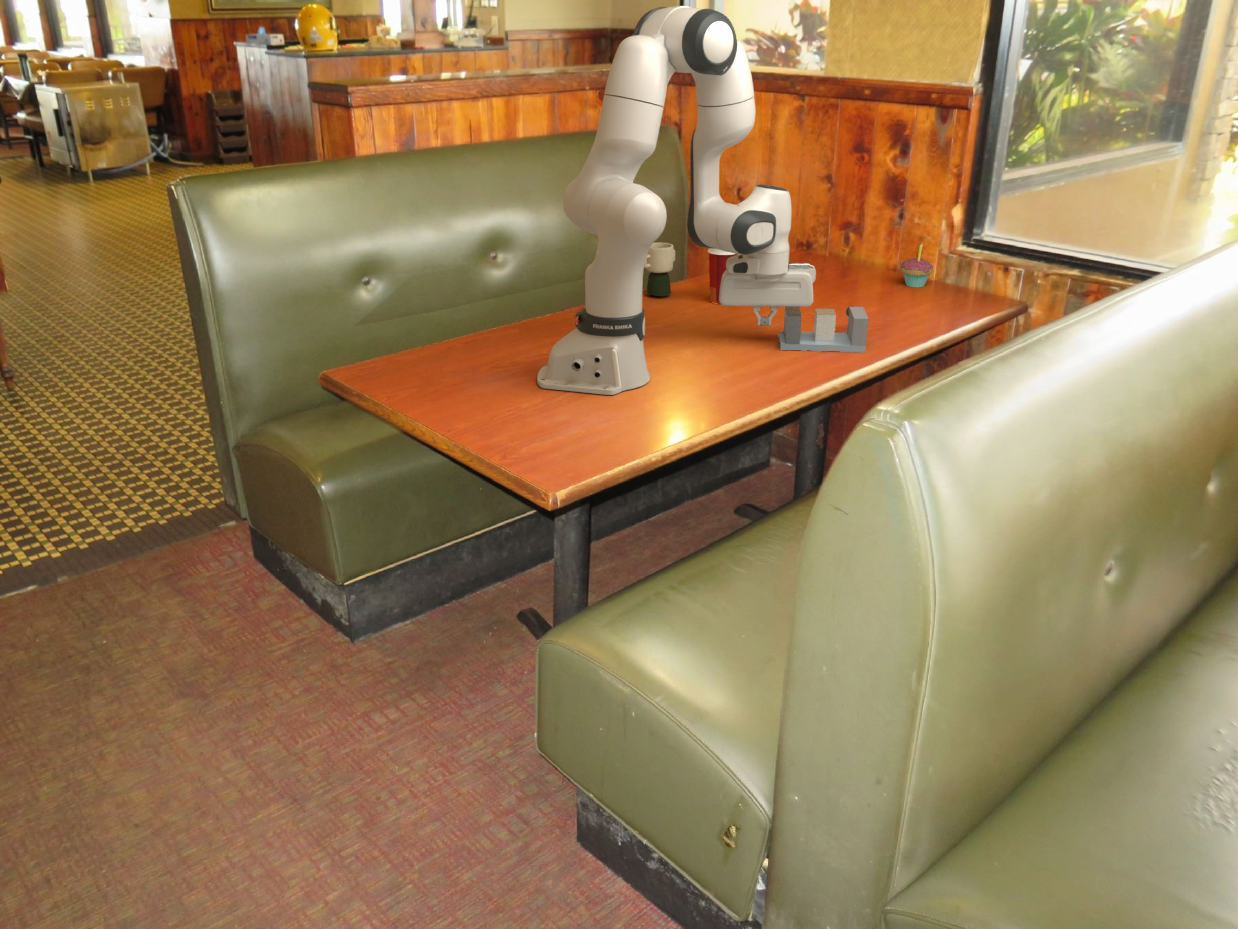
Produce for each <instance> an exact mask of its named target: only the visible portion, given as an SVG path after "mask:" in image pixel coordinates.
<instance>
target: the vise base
mask: <svg viewBox="0 0 1238 929" xmlns="http://www.w3.org/2000/svg"><path fill="white" fill-rule="evenodd" d="M845 315H846V316H847V317H848V318H847V329H846V332H835V335H834V342H815V340H814V336H813V333H814V331H801V333H800V344H786V343H785V337H784V330H781V331H778V343H780V344H779V350H780V351H782V350H801V351H800V352H808V351H807V350H811V351H810V352H821V351H840V352H839V353H859V354H861V353H864V354H865V353H866V346H867V336H868V326H869V316H868V314H867V312H866V309H865V308H864V307H863V306H854V305H850V306H848V307H847V308H846V310H845Z"/></svg>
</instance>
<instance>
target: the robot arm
mask: <svg viewBox="0 0 1238 929" xmlns="http://www.w3.org/2000/svg"><path fill="white" fill-rule="evenodd" d="M675 73H679V74H680V73H681V74H691V76H692V78H693V80H694V83H695V98H696V108H697V109H696V110H697V120H696V127H695V128H694V130H693V132H692V134H691V138H690V152H689V153H690V154H689V155H690V156H689V157H690V158H689V160H690V161H689V162H690V163H689V164H690V166H689V167H690V170H689V174H690V180H689V183H690V201H689V209H688V213H687V220H686V221H687V222H686V226H687V227H686V228H687V232H688V235H689V237H690V239H691V241H692V242H693V243H694V244H695V245H697V247H700V248H706V249H707V248H708V249H709V248H713V249H714V248H715V249H719V250H722V251H726V252H731V253H735V254H737V255H736V256H732V257H730V258H728V259H727V262H726V269H727V270H726V271H725V272H724V273H723V276H722V279H721V284H720V291H719V302H720V303H721V304H722V305H721V306H723V307H752V309H753V312H754V315H755V316H756V317H757V322H756V323H757V326H758V327H760V326H761V327H762V326H764V327H771V326H772V320H773V318H774V316H775V315H776V313H777V312H778V307H785V306H789V307H799V308H802V307H804V308H805V307H810V306H811V305H813V303H814V285H813V284H814V282H815V281H816V278H817V268H815V266H814V265H812V264H810V262H809V263H808V262H803V263H801V262H789V261H790V248H791V247H790V242H789V236H790V232H791V229H792V214H793V213H792V199H791V198H792V197H791V194H790V191H789V190H788V189H786V188H784V187H779V186H777V185H776V186H775V185H769V184H757V185H755V186H753V189H752V192H751V193H750V194H749V196H747V197H746V198H745V199H744V200H742V201H741V202H739V203H737V204H735V203H734V204H733V203H729V202H725V200H724V199H723V198H722V196H721V195H720V194H721V193H720V160H721V157H722V154H723V152H725V150H727V149H729V148H731V147H733V146H736V145H738V144H740V143H741V142H742V141H744V140H745V139H746V138H747V137H748V136H749V134H750V133H751V132H752V130H753V128H754V126H755V121H756V113H757V112H756V110H757V109H756V101H755V100H756V99H755V91H754V89H755V88H754V82H753V76H752V70H751V66H750V61H749V57H748V53H747V51H746V48H745V46H744V44H743V43H742V42H741V41H740V40H738V39H737V34H736V30H735V27H734V25H733V23H732V22H731V20H730V19H729V17H728V16H726V15H725V14H724V13H722V12H720V11H718V10H715V9H711V8H699V7H698V8H697V7H691V6H687V5H677V6H676V5H675V6H670V7H667V6H660V7H656V8H653V9H651V10H649V11H647V12H646V13H644V14H643V15H642V16H641V17H640V19H639V20H638V22H637V23H636V25H635V28H634V31H633V33H632V35H631V36H628V37H626V38H624V39H623V40H622V41H621V42H620V43H619V45H618V47H617V49H616V52H615V54H614V58H613V60H612V63H611V66H610V69H609V72H608V75H607V76H608V77H607V80H606V84H605V88H604V94H603V99H602V106H601V110H600V114H599V119H598V125H597V130H596V134H595V138H594V142H593V143H592V146H591V149H590V152H589V154H588V156H587V158H586V161H585V162H584V165H583V167H582V169H581V171H580V172H579V174H578V175H577V177H575V178H574V179H573V180H572V181H570V182H569V184H568V185H567V187H566V189H565V191H564V194H563V198H562V204H563V210H564V213H565V216H567V218H568V219H569V220H570V222H572V223H573V224H575V226H577V227H578V229H580V230H582V231H584V232H586V233H589V234H592V235H595V236H597V238H598V239H597V242H598V243H597V248H596V252H595V255H594V259H593V261H592V263H591V262H590V264H589V265H588V266H587V267H586V269H585V272H584V283H585V284H584V287H585V288H584V290H585V291H584V292H585V299H584V300H585V301H584V302H585V306H584V305H578V306H577V308H576V309H575V312H574V313H575V317H574V318H575V328H574V329H572V330H571V331H570V332H569V333H568V334H566V335H564V336H563V337H562V338H561V339H558V341H556V343H555V344H554V345H553V347H552V348H551V350H550V353H549V356H548V362H547V364H545V365H544V366H542V367H541V368H540V369H539V370H538V372H537V375H536V376H537V378H536V382H537V383H536V384H537V385H538V386H539V387H540V388H541V389H547V390H557V391H566V392H574V393H575V392H576V393H585V394H594V395H595V394H596V395H603V396H604V395H608V396H612V395H613V396H614V395H617V394H619V393H621V392H624V391H629V390H633V389H636V388H640V387H642V386H645V385H647V383H649V381H650V380H651V376H650V373H649V369H648V365H647V359H646V354H645V353H646V352H645V346H644V344H645V343H644V338H645V336H646V335H645V333H646V316H645V309H643V287H644V286H643V282H644V280H643V279H644V271H645V270H644V269H645V268H644V265H645V261H646V258H647V254H648V252H649V249H650V247H651V245H652V243H655V242H656V241H657V240H658V239H659V237H660V236H661V235H662V233H663V232H664V230H665V228H666V224H667V217H668V216H667V207H666V205H665V203H664V201H663V200H662V198H661V197H660V196H659V195H657V194H656V193H654V192H653V191H652V190H651V189H648V188H647V187H646V186H644V185H642V184H639V183H634V180H635V178H636V176H637V173H638V172H639V170H640V168H641V166H642V165H643V163H644V162H645V161H646V160H647V159H649V157H651V156H652V155H653V154H654V152H655V150H656V147H657V143H658V140H659V139H658V137H659V133H660V129H661V123H662V119H663V113H664V109H665V103H666V97H667V89H668V84H669V81H670V80H671V78H672V76H673V75H674V74H675ZM761 307H769V310H770V313H769V314H768V315H761V313H760V311H761Z"/></svg>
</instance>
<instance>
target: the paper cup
mask: <svg viewBox="0 0 1238 929" xmlns="http://www.w3.org/2000/svg"><path fill="white" fill-rule="evenodd" d="M707 253H708V267H709V268H708V270H709V272H708V274H709V301H711V302H714V303H717V304H716V305H720V304H721V303H720V302H719V291H720V284H721V279H722V276H723V273H724V272H725V271H726V270H727V269H726V262H727V259H728V258H730V257H732V256H736V255H738V254H735V253H731V252H726V251H722V250H719V249H715V248H714V249H713V248H708V249H707ZM711 302H710V303H711ZM714 303H713V304H714Z"/></svg>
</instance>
